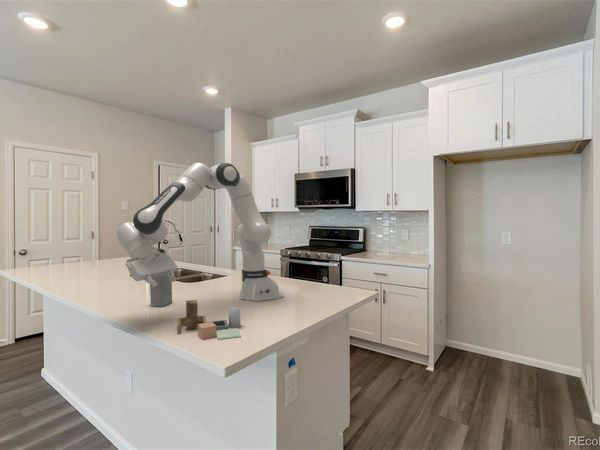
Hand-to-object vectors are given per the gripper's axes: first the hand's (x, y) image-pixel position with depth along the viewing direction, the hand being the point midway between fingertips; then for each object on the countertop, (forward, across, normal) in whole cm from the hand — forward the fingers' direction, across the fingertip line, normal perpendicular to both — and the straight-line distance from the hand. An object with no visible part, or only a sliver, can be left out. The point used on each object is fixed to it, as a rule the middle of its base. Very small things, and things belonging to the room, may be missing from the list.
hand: (165, 283), depth 127 cm
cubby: (+20, 0, +2) cm, 20 cm away
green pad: (+31, -1, -9) cm, 33 cm away
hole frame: (+26, +3, -4) cm, 27 cm away
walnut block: (+20, 0, +2) cm, 20 cm away
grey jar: (+30, +7, -7) cm, 32 cm away
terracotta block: (+27, -5, -4) cm, 28 cm away
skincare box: (-4, +21, +27) cm, 34 cm away
